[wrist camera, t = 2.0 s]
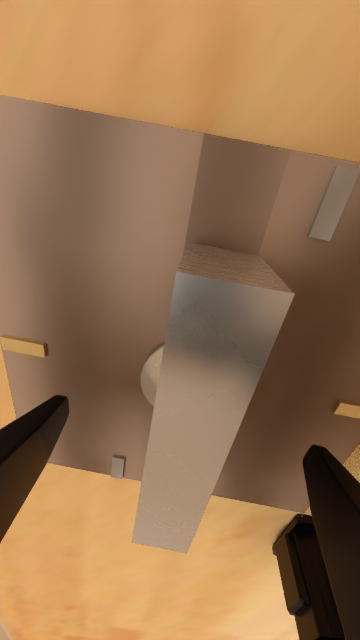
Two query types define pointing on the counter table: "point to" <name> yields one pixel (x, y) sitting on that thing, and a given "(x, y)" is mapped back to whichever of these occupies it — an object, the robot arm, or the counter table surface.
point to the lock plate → (158, 283)
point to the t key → (203, 384)
